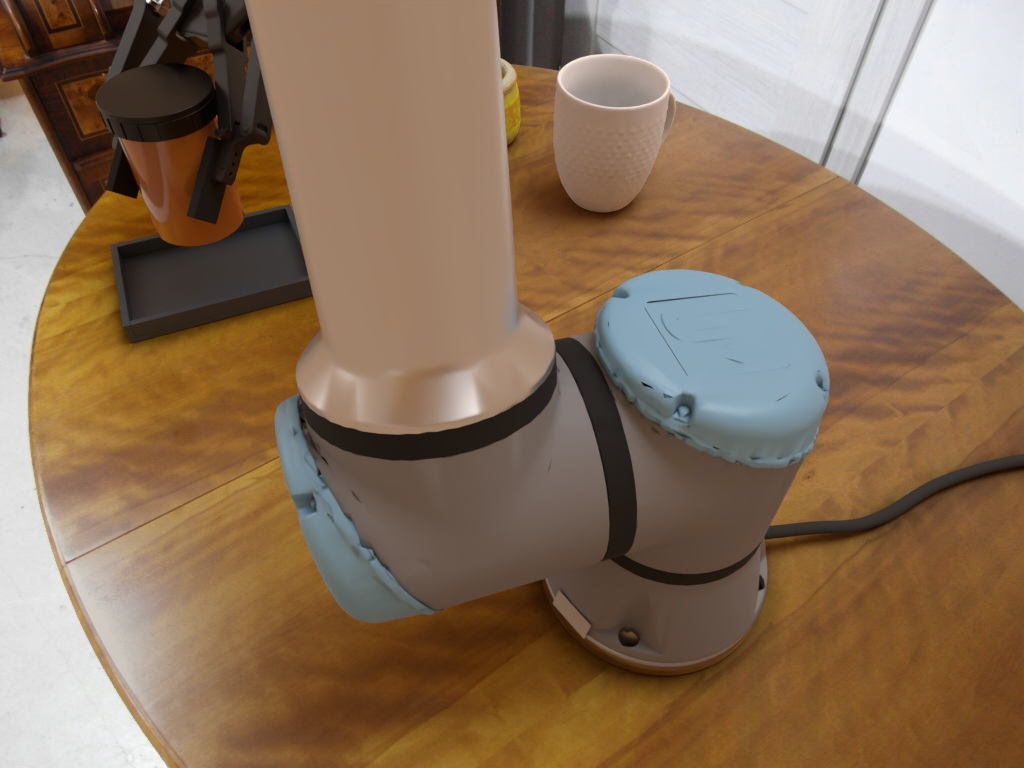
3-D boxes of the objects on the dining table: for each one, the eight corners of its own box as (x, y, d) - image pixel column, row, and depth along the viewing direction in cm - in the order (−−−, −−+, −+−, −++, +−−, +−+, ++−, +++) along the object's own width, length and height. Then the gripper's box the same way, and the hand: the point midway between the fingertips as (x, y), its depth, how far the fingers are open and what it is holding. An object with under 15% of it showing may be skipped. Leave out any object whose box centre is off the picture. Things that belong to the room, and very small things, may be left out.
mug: (626, 144, 90) (642, 32, 81) (696, 188, 85) (723, 72, 75) (528, 189, 84) (532, 73, 74) (597, 239, 78) (612, 121, 69)
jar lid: (210, 78, 65) (203, 55, 63) (229, 129, 60) (222, 104, 58) (100, 98, 62) (90, 74, 61) (110, 152, 57) (99, 128, 56)
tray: (293, 219, 80) (289, 203, 78) (324, 292, 72) (320, 276, 71) (117, 261, 75) (109, 244, 74) (131, 343, 68) (122, 327, 66)
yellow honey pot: (537, 148, 90) (541, 45, 81) (449, 170, 86) (444, 65, 77) (491, 97, 97) (491, -2, 88) (409, 116, 94) (400, 15, 85)
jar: (235, 187, 72) (199, 66, 63) (252, 233, 67) (216, 110, 59) (150, 205, 70) (101, 83, 61) (161, 255, 65) (109, 130, 57)
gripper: (366, -26, 63) (290, 247, 65) (164, -67, 68) (100, 187, 70) (318, -78, 55) (234, 231, 58) (96, -120, 61) (27, 165, 63)
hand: (160, 206), depth 64 cm, fingers closed on jar, 8 cm apart
